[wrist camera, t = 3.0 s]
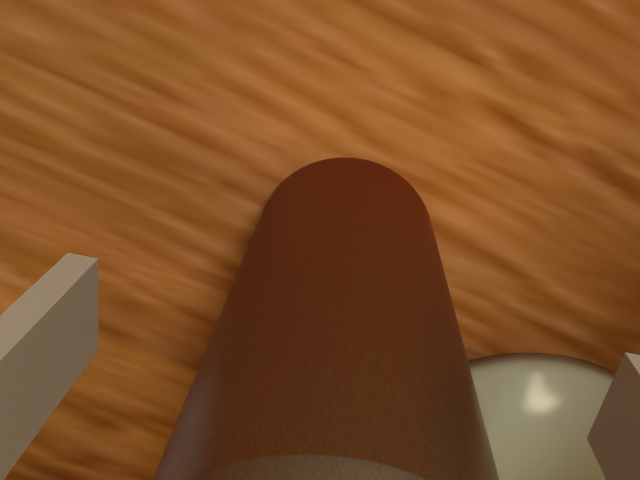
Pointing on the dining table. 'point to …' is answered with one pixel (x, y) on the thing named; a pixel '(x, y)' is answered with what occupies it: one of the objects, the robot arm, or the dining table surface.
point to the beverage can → (335, 346)
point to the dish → (540, 414)
